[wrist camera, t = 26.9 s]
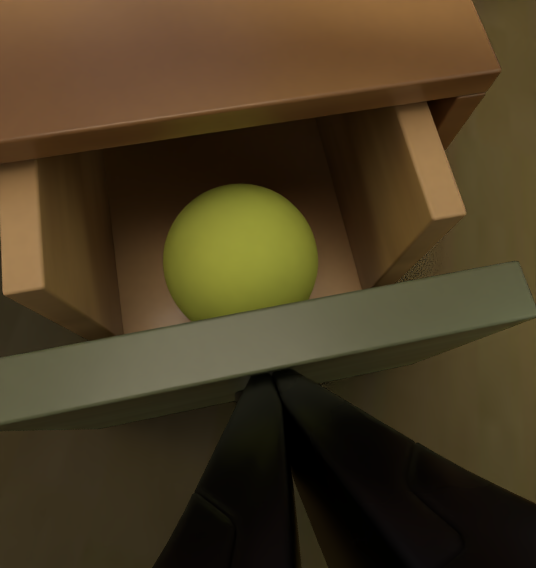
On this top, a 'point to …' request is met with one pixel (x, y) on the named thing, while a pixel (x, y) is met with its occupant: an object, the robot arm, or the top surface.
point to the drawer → (250, 324)
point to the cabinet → (227, 67)
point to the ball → (238, 253)
